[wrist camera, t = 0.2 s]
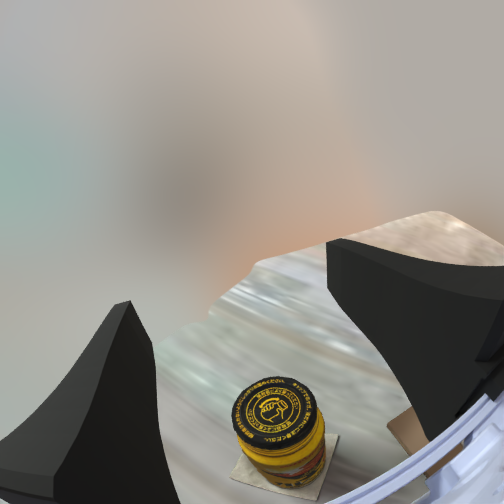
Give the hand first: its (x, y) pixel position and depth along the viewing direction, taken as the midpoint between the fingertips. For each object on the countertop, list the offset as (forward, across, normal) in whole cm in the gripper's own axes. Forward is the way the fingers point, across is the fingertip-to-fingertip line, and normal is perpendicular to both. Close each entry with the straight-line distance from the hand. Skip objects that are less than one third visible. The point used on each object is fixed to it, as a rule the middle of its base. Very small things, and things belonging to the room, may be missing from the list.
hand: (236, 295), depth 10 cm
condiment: (+1, 0, +22) cm, 22 cm away
